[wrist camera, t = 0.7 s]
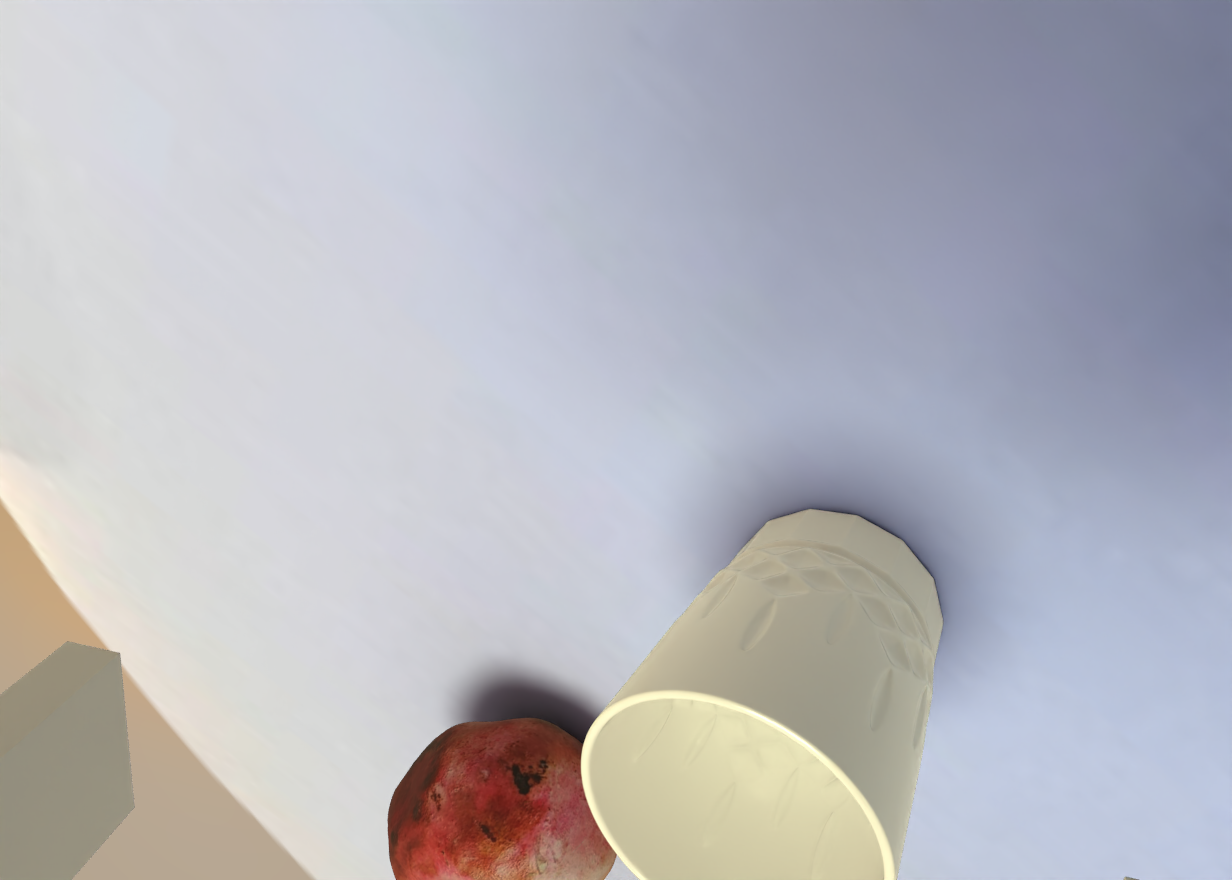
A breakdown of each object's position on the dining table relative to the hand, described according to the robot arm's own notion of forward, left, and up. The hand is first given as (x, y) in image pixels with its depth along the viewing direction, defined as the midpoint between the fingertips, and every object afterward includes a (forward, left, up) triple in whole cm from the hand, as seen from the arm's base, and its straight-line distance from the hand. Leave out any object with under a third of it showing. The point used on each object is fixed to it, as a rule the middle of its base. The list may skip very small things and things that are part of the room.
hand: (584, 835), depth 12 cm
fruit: (+23, -4, -17) cm, 29 cm away
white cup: (+7, +2, -17) cm, 19 cm away
